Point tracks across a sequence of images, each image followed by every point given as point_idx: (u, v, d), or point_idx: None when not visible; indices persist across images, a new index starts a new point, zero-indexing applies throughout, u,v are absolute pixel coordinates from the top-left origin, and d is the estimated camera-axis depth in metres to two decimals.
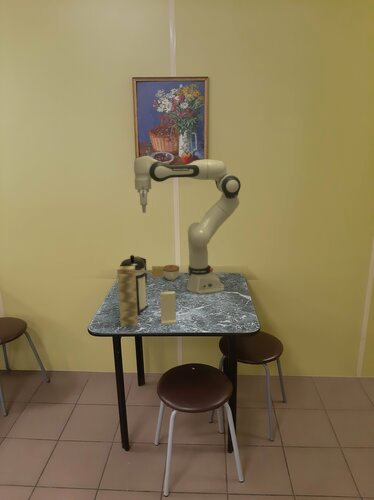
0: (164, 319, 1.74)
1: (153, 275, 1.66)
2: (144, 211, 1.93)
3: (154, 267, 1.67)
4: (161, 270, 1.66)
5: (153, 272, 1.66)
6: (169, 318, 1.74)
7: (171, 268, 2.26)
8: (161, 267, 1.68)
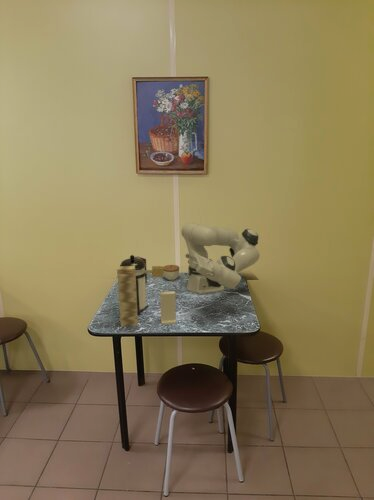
0: (164, 319, 1.74)
1: (153, 275, 1.66)
2: (189, 262, 1.68)
3: (154, 267, 1.67)
4: (161, 270, 1.66)
5: (153, 272, 1.66)
6: (169, 318, 1.74)
7: (171, 268, 2.26)
8: (161, 267, 1.68)
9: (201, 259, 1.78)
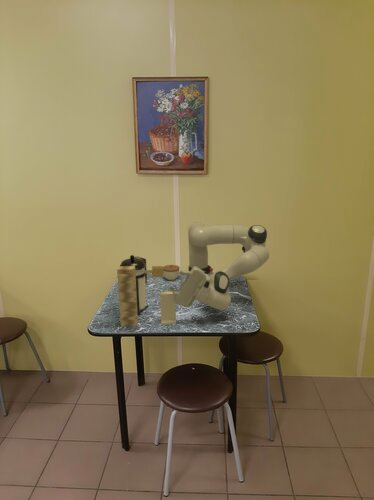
0: (164, 319, 1.74)
1: (153, 275, 1.66)
2: None
3: (154, 267, 1.67)
4: (161, 270, 1.66)
5: (153, 272, 1.66)
6: (169, 318, 1.74)
7: (171, 268, 2.26)
8: (161, 267, 1.68)
9: (193, 282, 1.67)
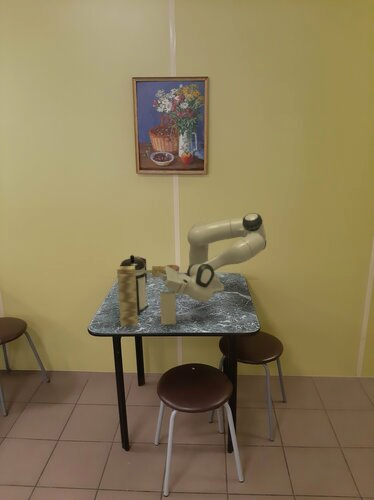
0: (164, 319, 1.74)
1: (153, 275, 1.66)
2: None
3: (154, 267, 1.67)
4: (161, 270, 1.66)
5: (153, 272, 1.66)
6: (169, 318, 1.74)
7: None
8: (161, 267, 1.68)
9: None
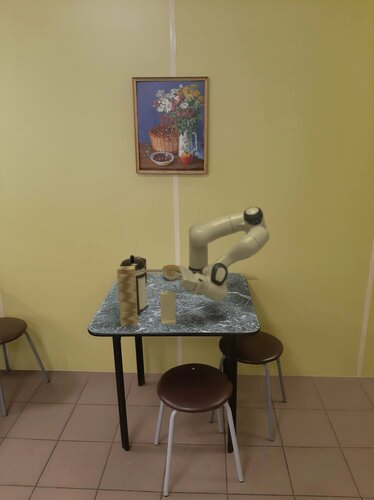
0: (164, 319, 1.74)
1: (168, 274, 1.67)
2: None
3: (169, 266, 1.68)
4: (176, 269, 1.67)
5: (168, 271, 1.66)
6: (169, 318, 1.74)
7: None
8: (176, 266, 1.69)
9: None
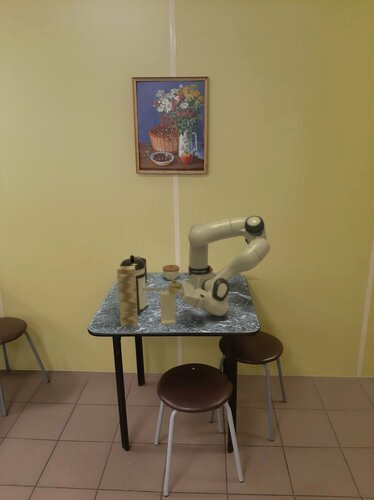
0: (164, 319, 1.74)
1: (170, 292, 1.69)
2: None
3: (171, 284, 1.71)
4: (178, 287, 1.69)
5: (170, 289, 1.69)
6: (169, 318, 1.74)
7: (171, 268, 2.26)
8: (178, 284, 1.71)
9: None
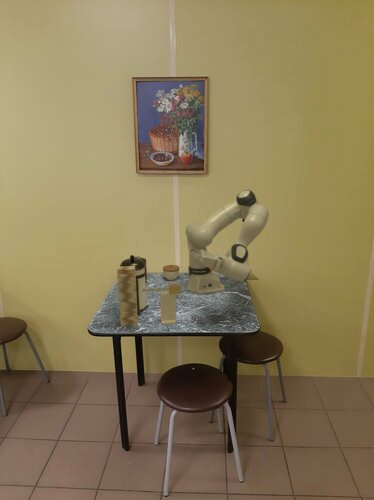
0: (164, 319, 1.74)
1: (170, 292, 1.69)
2: None
3: (171, 284, 1.71)
4: (178, 287, 1.69)
5: (170, 289, 1.69)
6: (169, 318, 1.74)
7: (171, 268, 2.26)
8: (178, 284, 1.71)
9: None
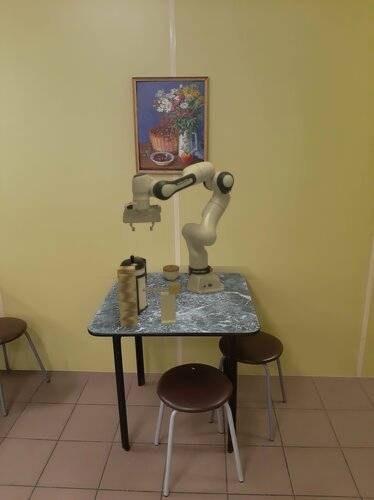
0: (164, 319, 1.74)
1: (170, 292, 1.69)
2: (152, 229, 1.92)
3: (171, 284, 1.71)
4: (178, 287, 1.69)
5: (170, 289, 1.69)
6: (169, 318, 1.74)
7: (171, 268, 2.26)
8: (178, 284, 1.71)
9: (134, 217, 1.87)
